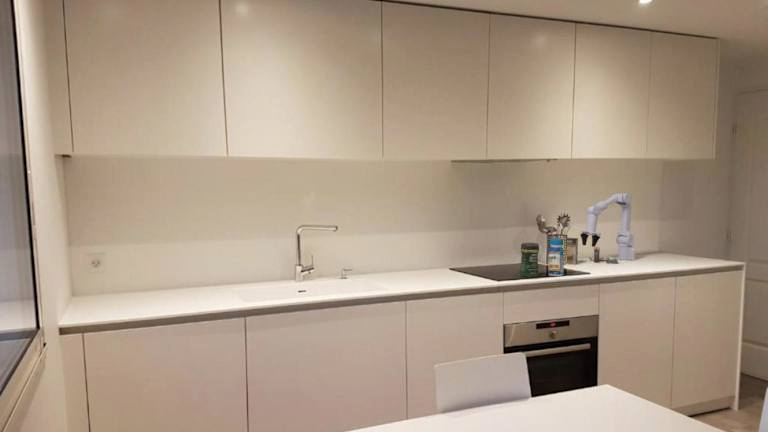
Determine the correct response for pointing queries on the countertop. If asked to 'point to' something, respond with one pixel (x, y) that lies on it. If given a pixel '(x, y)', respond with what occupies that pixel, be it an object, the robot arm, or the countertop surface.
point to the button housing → (612, 261)
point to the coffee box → (572, 250)
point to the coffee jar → (529, 260)
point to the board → (599, 259)
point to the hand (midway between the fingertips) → (588, 245)
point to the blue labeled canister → (556, 258)
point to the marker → (596, 254)
